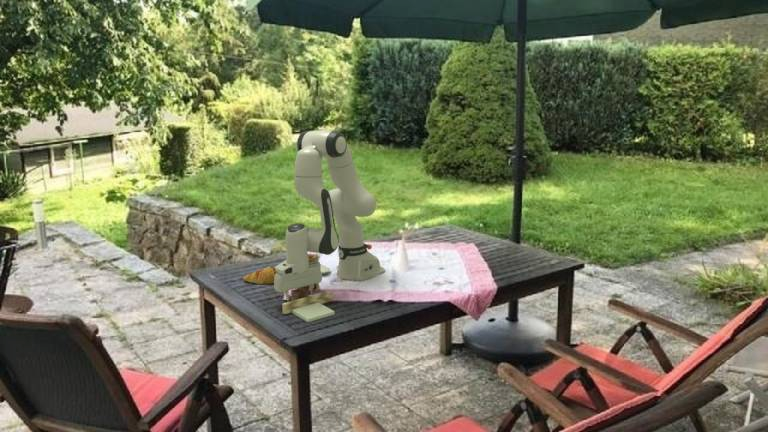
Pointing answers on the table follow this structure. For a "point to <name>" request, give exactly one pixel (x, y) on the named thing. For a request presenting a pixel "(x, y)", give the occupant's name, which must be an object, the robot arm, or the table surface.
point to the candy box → (311, 259)
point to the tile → (313, 312)
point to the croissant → (261, 276)
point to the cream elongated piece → (322, 266)
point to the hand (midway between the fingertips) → (299, 297)
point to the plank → (307, 301)
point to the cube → (298, 294)
